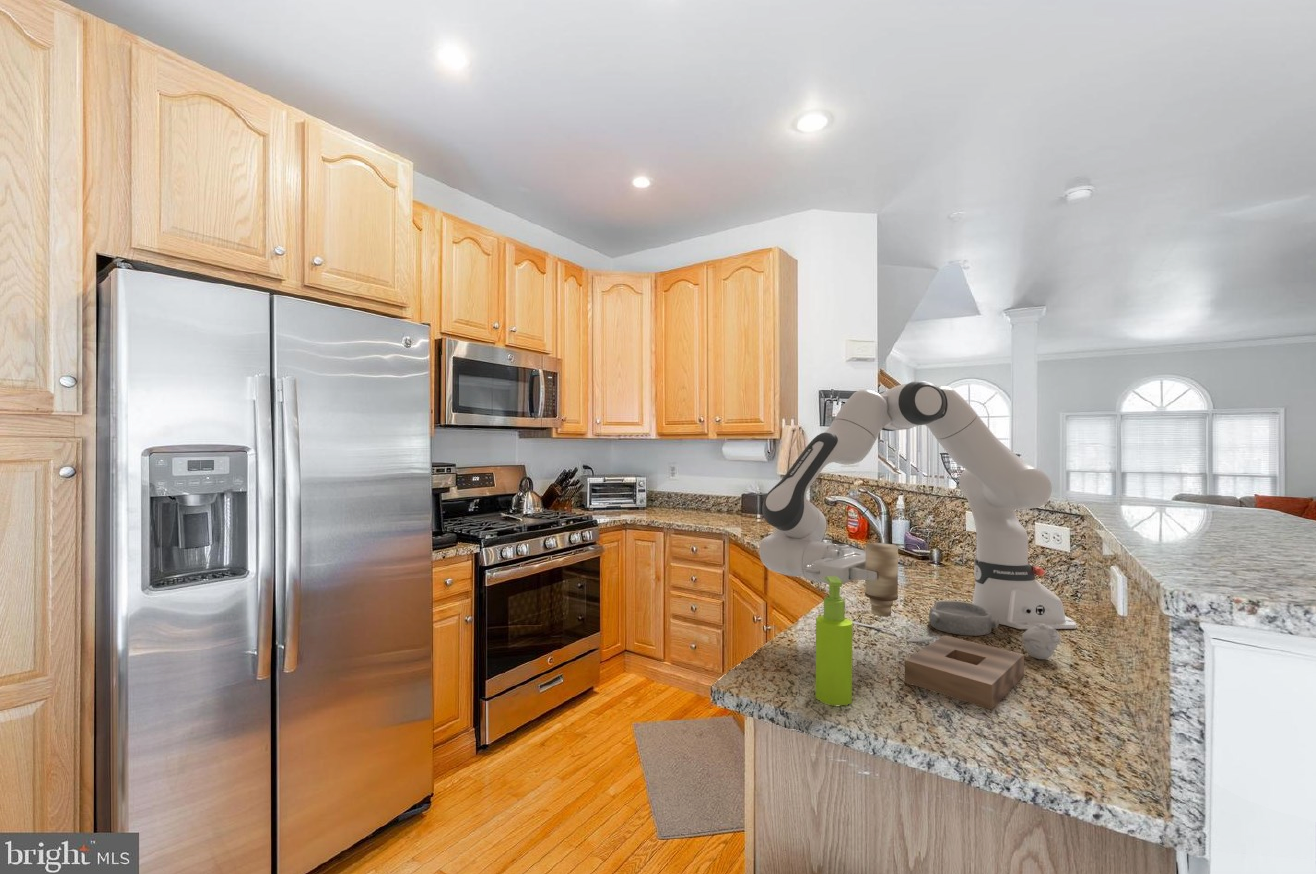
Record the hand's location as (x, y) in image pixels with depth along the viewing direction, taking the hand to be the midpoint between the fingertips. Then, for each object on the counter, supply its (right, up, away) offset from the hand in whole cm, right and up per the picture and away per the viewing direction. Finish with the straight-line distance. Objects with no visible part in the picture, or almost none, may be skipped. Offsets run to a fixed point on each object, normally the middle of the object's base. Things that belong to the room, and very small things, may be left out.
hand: (885, 573), depth 113 cm
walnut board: (+10, -17, -11) cm, 23 cm away
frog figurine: (+31, -18, 0) cm, 36 cm away
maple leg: (-1, -8, 0) cm, 8 cm away
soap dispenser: (-17, -16, -19) cm, 30 cm away
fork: (+5, -18, +16) cm, 24 cm away
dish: (+25, -18, +18) cm, 36 cm away
